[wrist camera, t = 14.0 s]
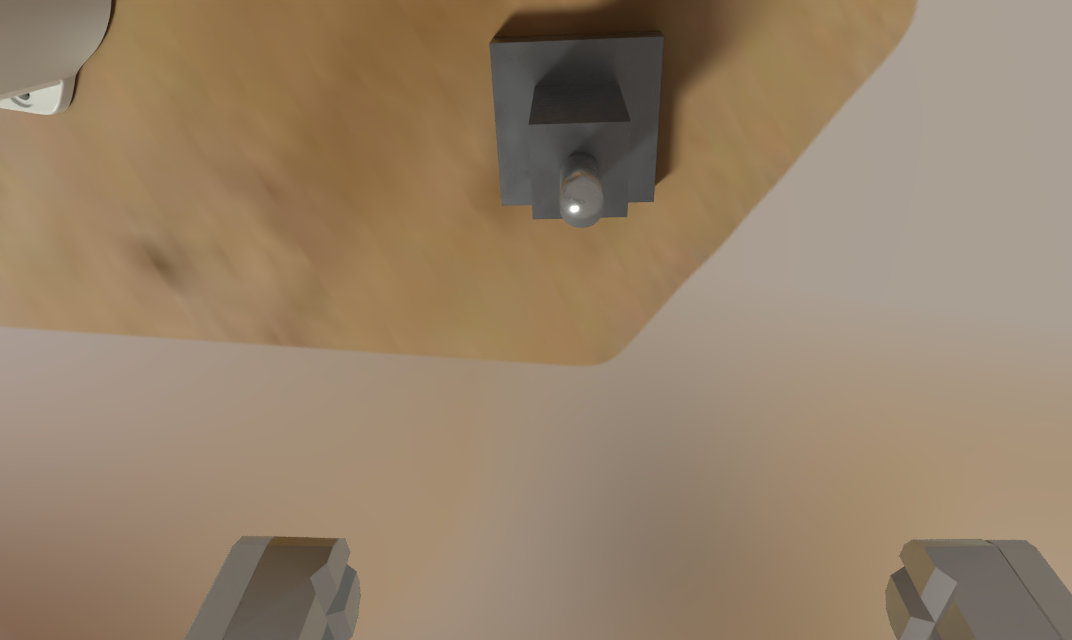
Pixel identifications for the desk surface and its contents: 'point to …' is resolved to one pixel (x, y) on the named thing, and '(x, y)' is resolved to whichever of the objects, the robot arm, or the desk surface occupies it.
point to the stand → (577, 122)
